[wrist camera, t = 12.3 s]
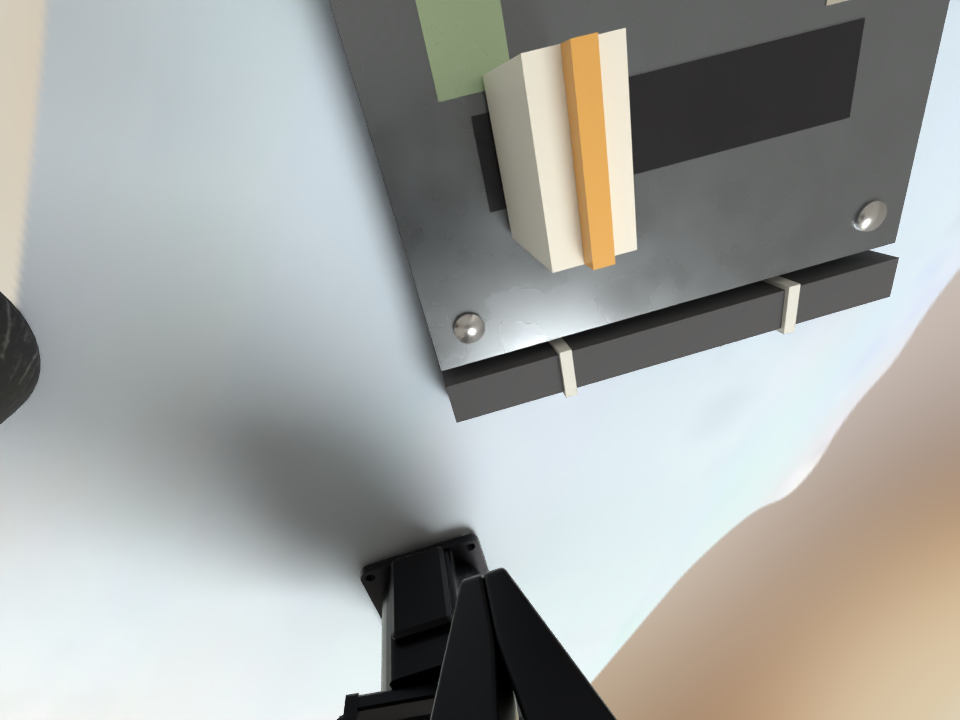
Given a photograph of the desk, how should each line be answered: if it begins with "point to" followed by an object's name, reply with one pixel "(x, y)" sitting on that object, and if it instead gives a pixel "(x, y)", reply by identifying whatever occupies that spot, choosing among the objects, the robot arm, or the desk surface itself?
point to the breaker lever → (567, 150)
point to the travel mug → (16, 359)
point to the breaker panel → (645, 148)
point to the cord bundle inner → (668, 334)
